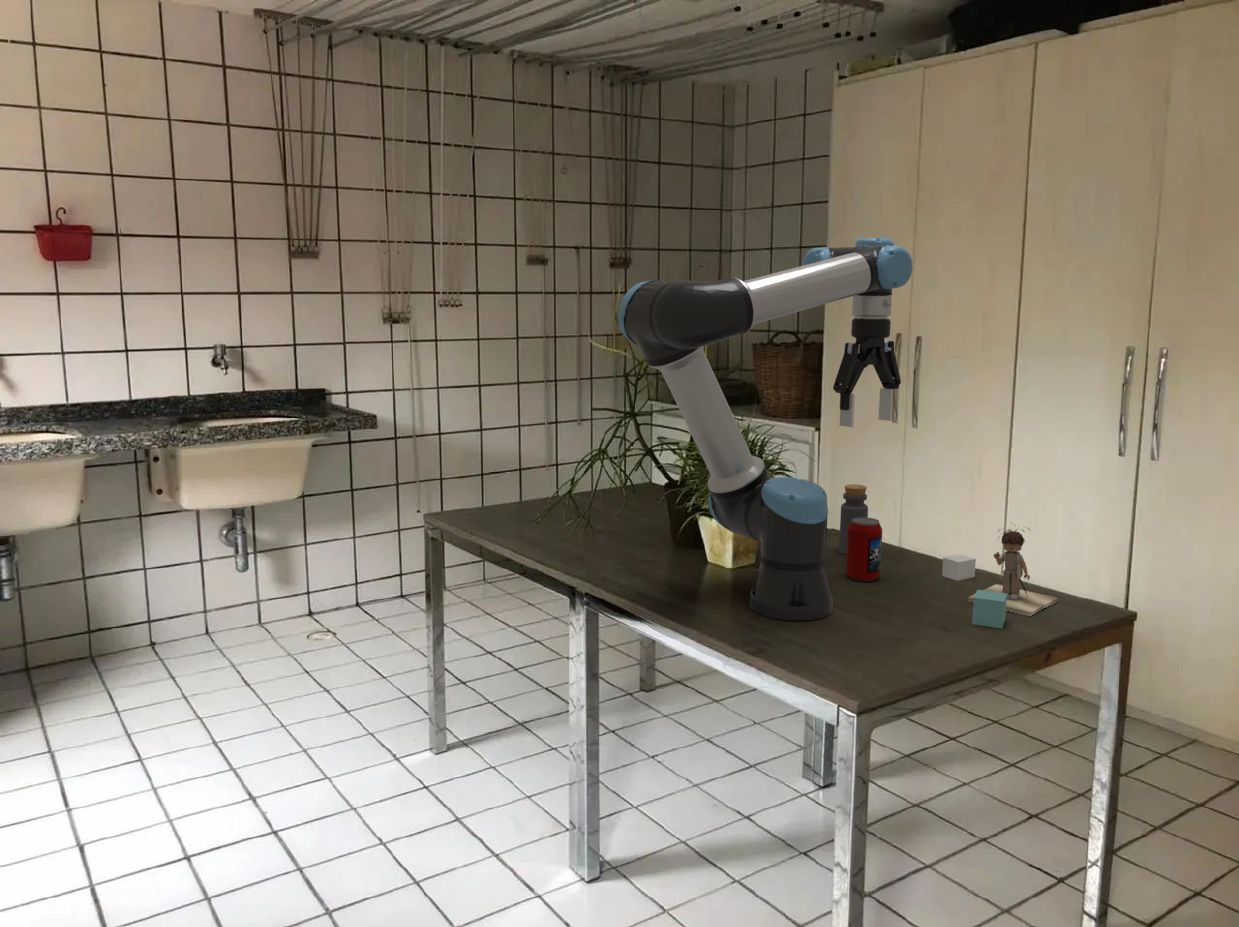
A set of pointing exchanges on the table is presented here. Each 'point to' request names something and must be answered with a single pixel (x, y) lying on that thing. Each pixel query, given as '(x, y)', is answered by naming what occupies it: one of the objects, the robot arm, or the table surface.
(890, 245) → the robot arm
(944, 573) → the white block
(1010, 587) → the toy
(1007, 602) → the board
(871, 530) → the beverage can
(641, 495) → the table surface
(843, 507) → the bottle
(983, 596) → the teal block
